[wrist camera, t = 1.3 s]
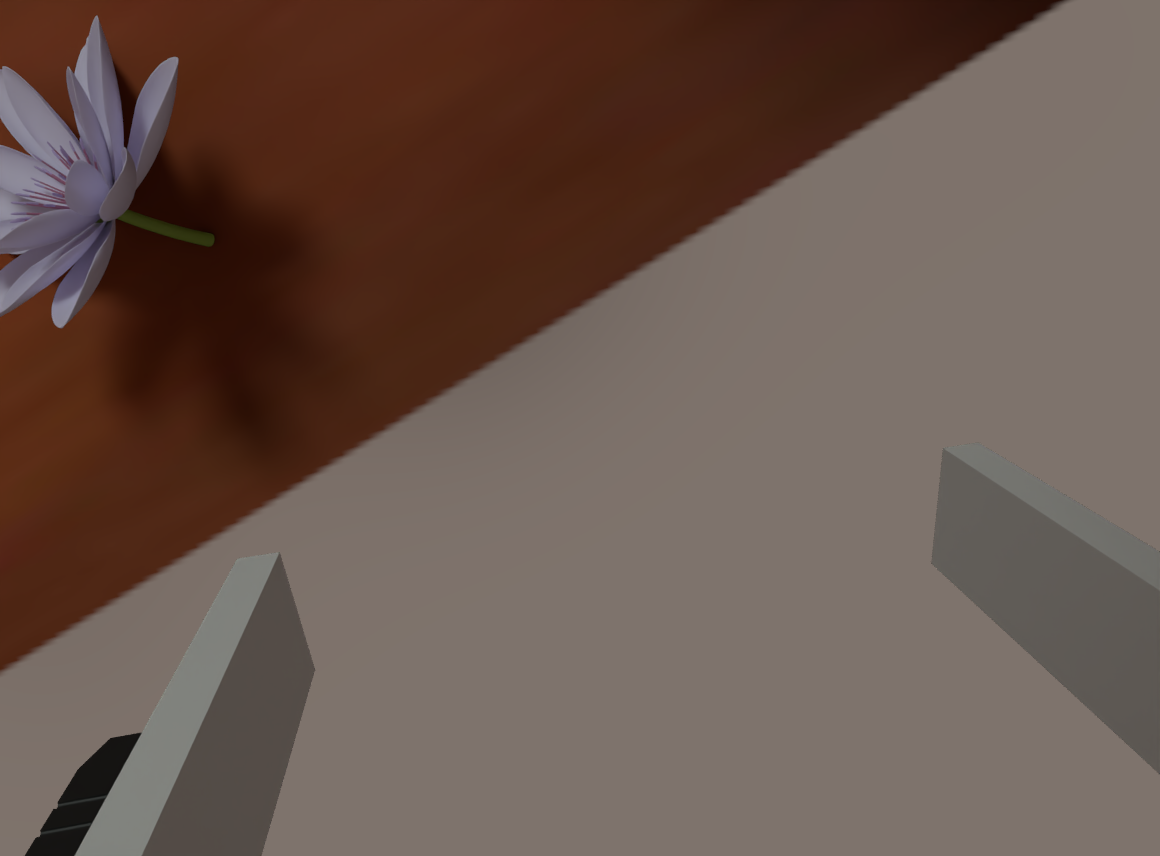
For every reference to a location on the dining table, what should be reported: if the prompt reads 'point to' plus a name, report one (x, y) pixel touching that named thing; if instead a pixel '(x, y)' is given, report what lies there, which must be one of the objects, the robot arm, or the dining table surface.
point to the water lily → (77, 178)
